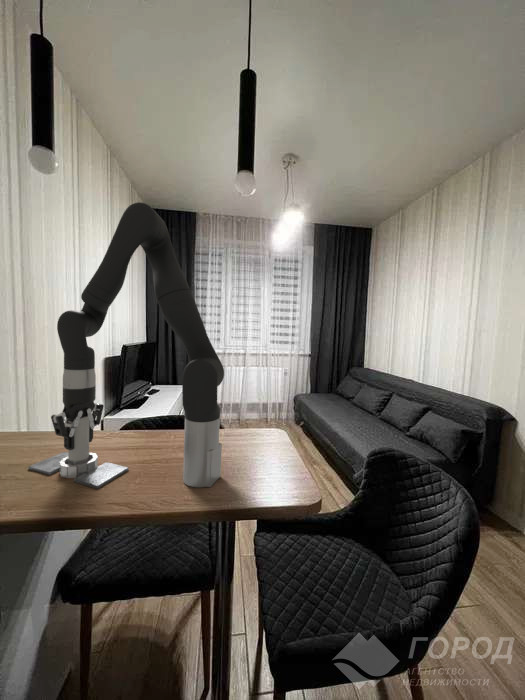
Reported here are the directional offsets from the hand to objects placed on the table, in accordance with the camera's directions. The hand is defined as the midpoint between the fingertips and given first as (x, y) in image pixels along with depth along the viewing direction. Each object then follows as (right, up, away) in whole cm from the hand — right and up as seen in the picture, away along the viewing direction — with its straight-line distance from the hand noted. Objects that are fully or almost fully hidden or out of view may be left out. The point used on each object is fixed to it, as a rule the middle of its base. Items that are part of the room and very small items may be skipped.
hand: (79, 445), depth 77 cm
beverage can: (0, -4, 0) cm, 4 cm away
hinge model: (0, -7, +1) cm, 7 cm away
